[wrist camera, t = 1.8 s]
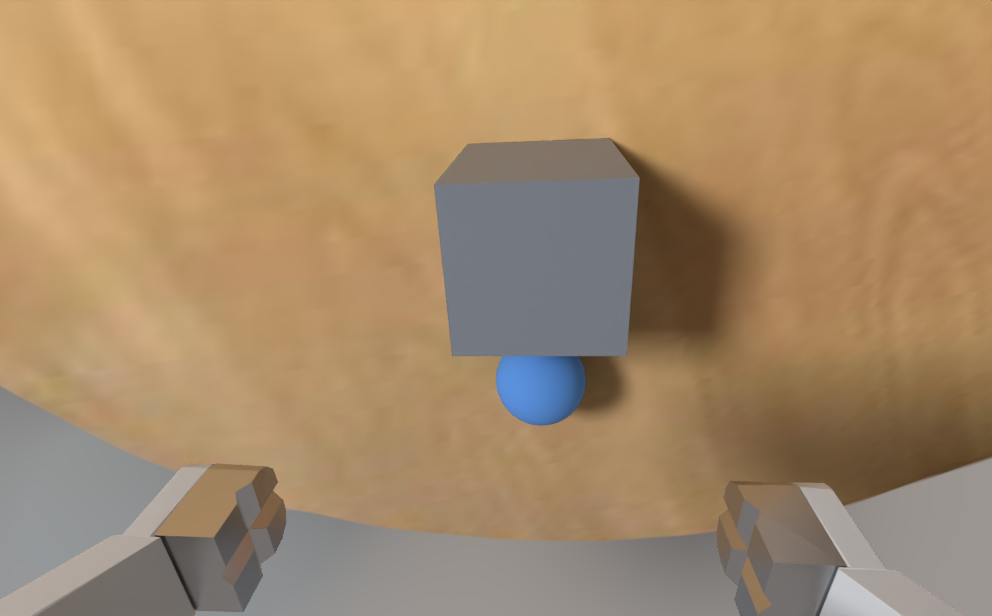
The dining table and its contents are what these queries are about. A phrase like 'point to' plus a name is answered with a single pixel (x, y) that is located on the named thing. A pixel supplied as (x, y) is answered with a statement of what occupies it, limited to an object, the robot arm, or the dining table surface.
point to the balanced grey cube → (538, 248)
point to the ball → (541, 387)
